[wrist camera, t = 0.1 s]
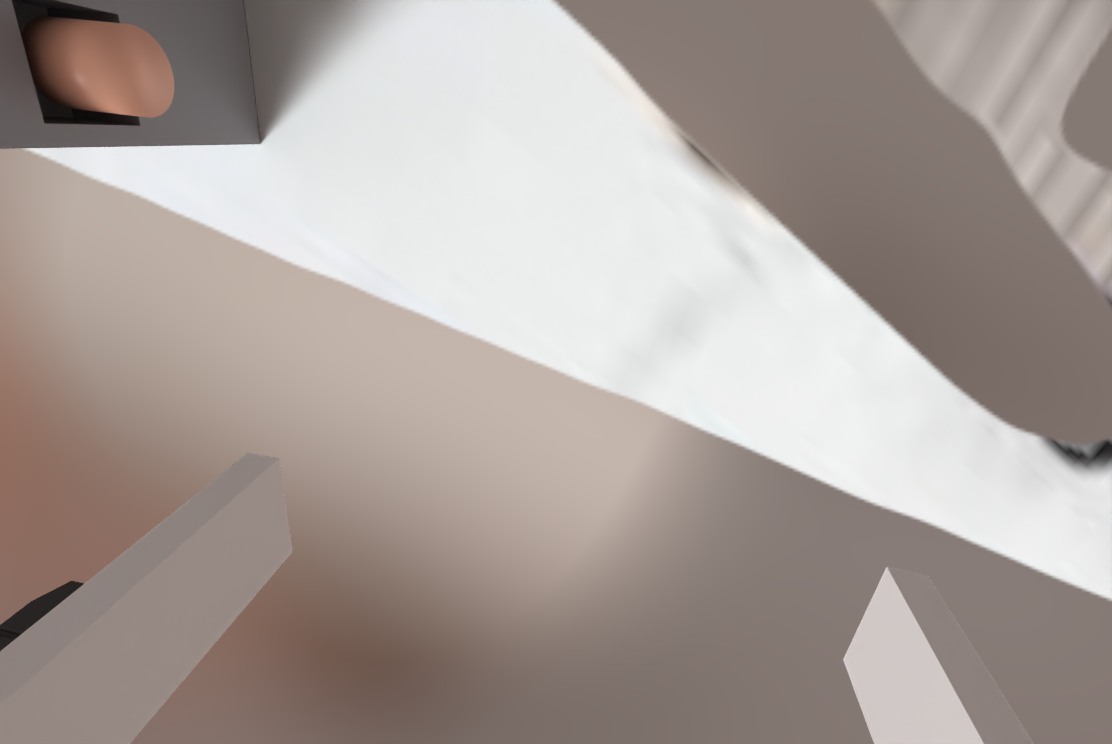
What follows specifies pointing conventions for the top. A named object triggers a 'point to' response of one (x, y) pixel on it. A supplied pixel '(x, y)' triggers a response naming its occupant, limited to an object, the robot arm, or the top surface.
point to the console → (192, 50)
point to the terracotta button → (99, 66)
